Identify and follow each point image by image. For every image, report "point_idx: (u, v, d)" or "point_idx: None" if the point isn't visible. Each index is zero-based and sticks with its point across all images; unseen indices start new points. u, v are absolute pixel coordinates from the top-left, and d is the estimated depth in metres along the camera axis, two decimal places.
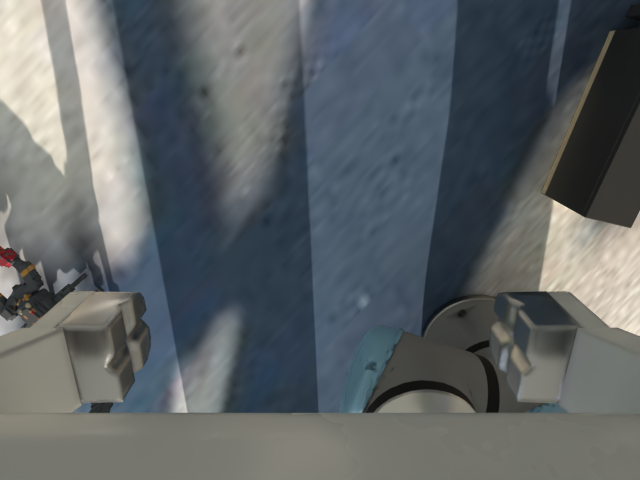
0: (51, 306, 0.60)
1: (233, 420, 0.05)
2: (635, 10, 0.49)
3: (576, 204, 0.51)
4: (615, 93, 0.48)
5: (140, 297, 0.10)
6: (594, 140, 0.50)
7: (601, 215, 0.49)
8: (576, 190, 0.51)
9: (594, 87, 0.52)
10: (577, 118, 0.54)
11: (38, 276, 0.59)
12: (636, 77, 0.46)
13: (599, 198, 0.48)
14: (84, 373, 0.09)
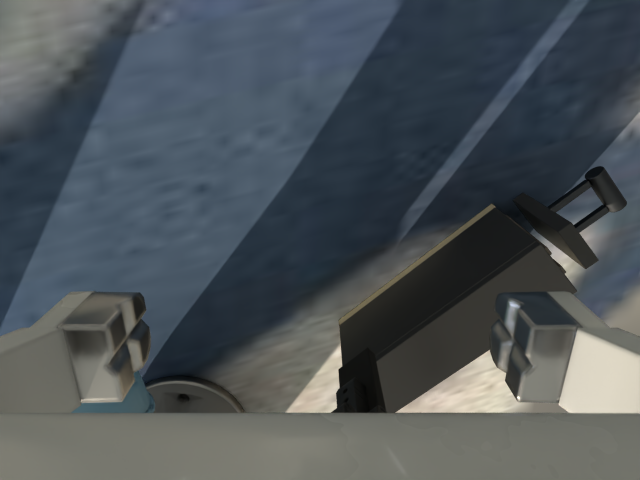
0: None
1: (233, 420, 0.05)
2: (522, 200, 0.41)
3: None
4: (452, 272, 0.39)
5: (140, 297, 0.10)
6: (406, 306, 0.41)
7: None
8: (359, 346, 0.41)
9: (444, 250, 0.43)
10: (412, 270, 0.45)
11: None
12: (476, 270, 0.37)
13: None
14: (84, 373, 0.09)
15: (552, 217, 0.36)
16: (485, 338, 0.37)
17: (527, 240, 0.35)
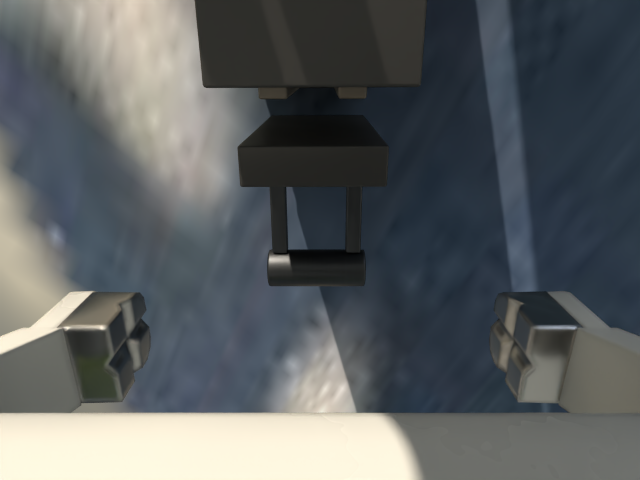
0: None
1: (233, 420, 0.05)
2: None
3: None
4: None
5: (140, 297, 0.10)
6: None
7: None
8: None
9: None
10: None
11: None
12: None
13: None
14: (84, 373, 0.09)
15: None
16: None
17: None
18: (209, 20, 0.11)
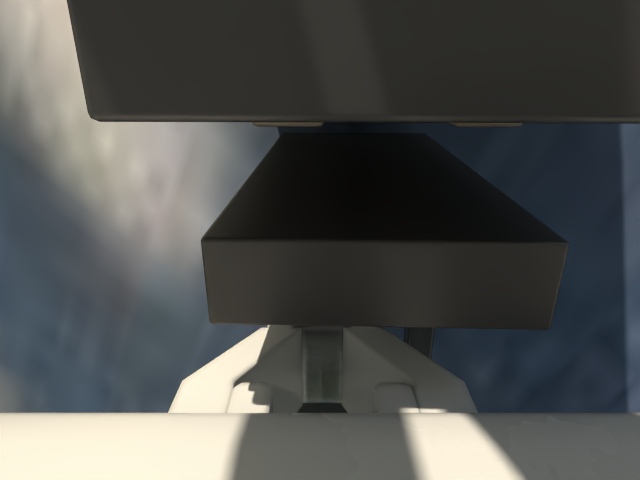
0: None
1: (233, 420, 0.05)
2: None
3: None
4: None
5: None
6: None
7: None
8: None
9: None
10: None
11: None
12: None
13: None
14: (311, 373, 0.09)
15: None
16: None
17: None
18: None
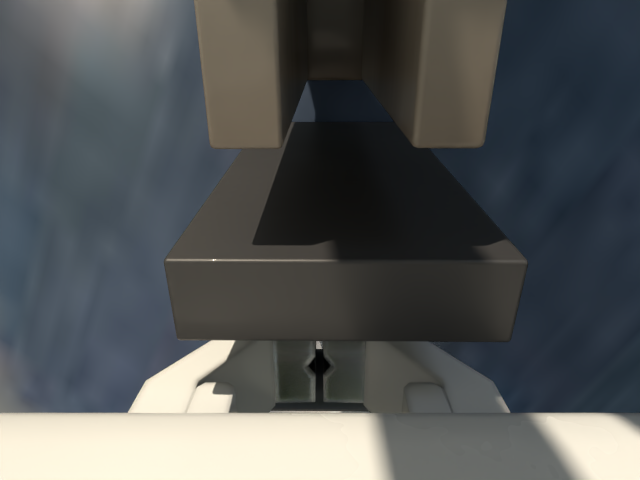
0: None
1: (233, 420, 0.05)
2: None
3: None
4: None
5: None
6: None
7: None
8: None
9: None
10: None
11: None
12: None
13: None
14: (283, 373, 0.09)
15: None
16: None
17: None
18: None
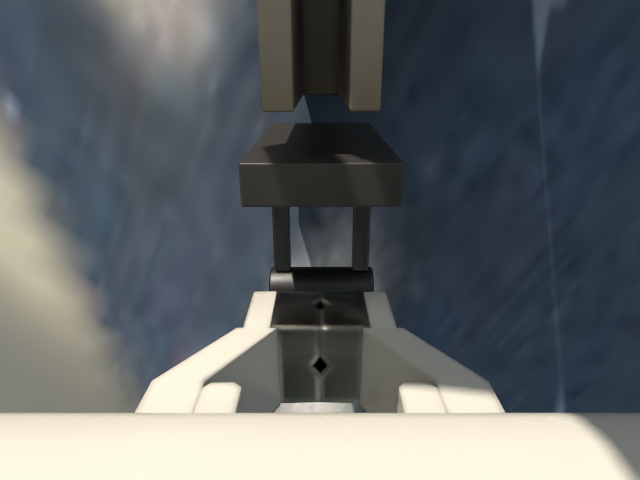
0: None
1: (233, 420, 0.05)
2: None
3: None
4: None
5: None
6: None
7: None
8: None
9: None
10: None
11: None
12: None
13: None
14: (288, 373, 0.09)
15: None
16: None
17: None
18: None
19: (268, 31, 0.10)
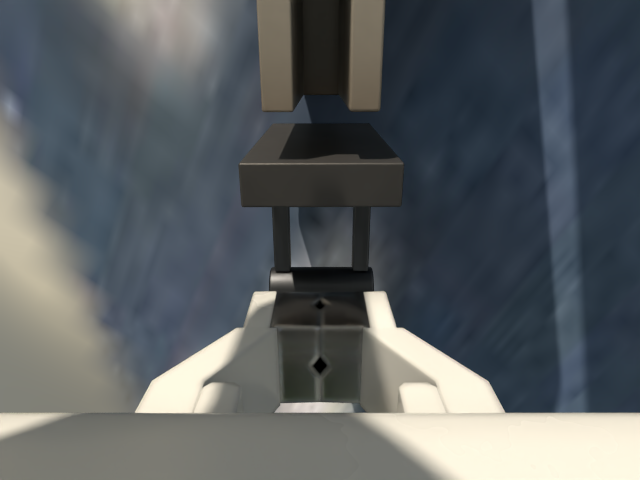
0: None
1: (233, 420, 0.05)
2: None
3: None
4: None
5: None
6: None
7: None
8: None
9: None
10: None
11: None
12: None
13: None
14: (288, 373, 0.09)
15: None
16: None
17: None
18: None
19: (268, 31, 0.10)
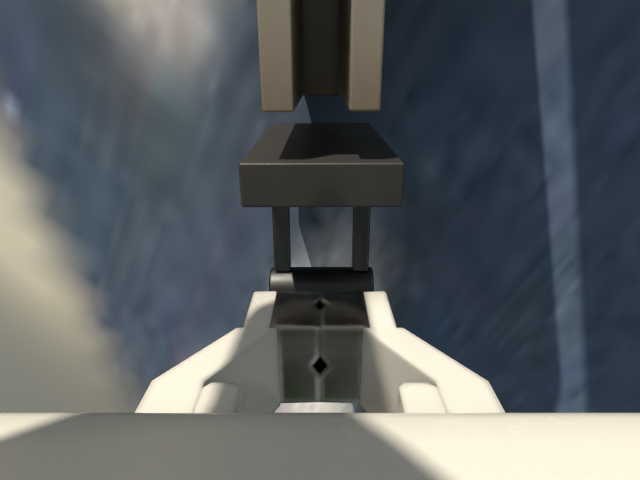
0: None
1: (233, 420, 0.05)
2: None
3: None
4: None
5: None
6: None
7: None
8: None
9: None
10: None
11: None
12: None
13: None
14: (288, 373, 0.09)
15: None
16: None
17: None
18: None
19: (268, 31, 0.10)
